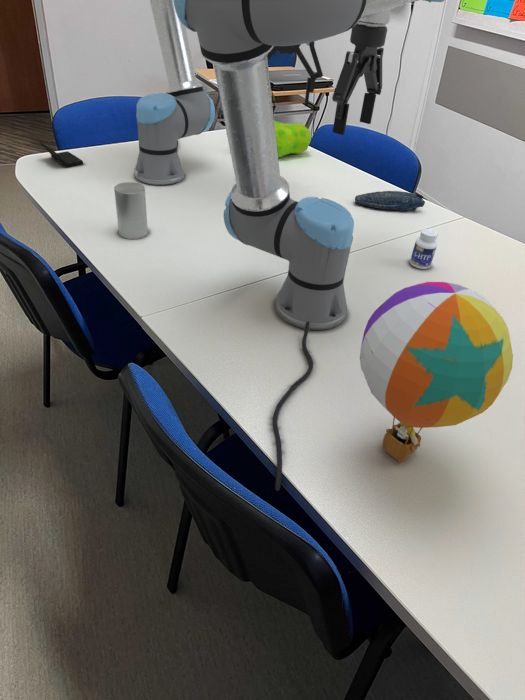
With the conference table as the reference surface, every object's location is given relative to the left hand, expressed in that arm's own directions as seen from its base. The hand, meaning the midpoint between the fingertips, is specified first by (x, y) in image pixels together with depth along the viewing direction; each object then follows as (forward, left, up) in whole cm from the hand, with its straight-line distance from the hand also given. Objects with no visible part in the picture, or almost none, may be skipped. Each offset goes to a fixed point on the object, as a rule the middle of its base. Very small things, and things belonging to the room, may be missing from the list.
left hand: (281, 103), depth 141 cm
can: (+28, -36, -28) cm, 54 cm away
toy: (+97, +20, -28) cm, 103 cm away
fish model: (-1, +36, -28) cm, 45 cm away
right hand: (+22, +17, +1) cm, 28 cm away
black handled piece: (-18, -69, -28) cm, 76 cm away
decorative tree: (-43, -1, -28) cm, 51 cm away
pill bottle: (+34, +38, -28) cm, 58 cm away
